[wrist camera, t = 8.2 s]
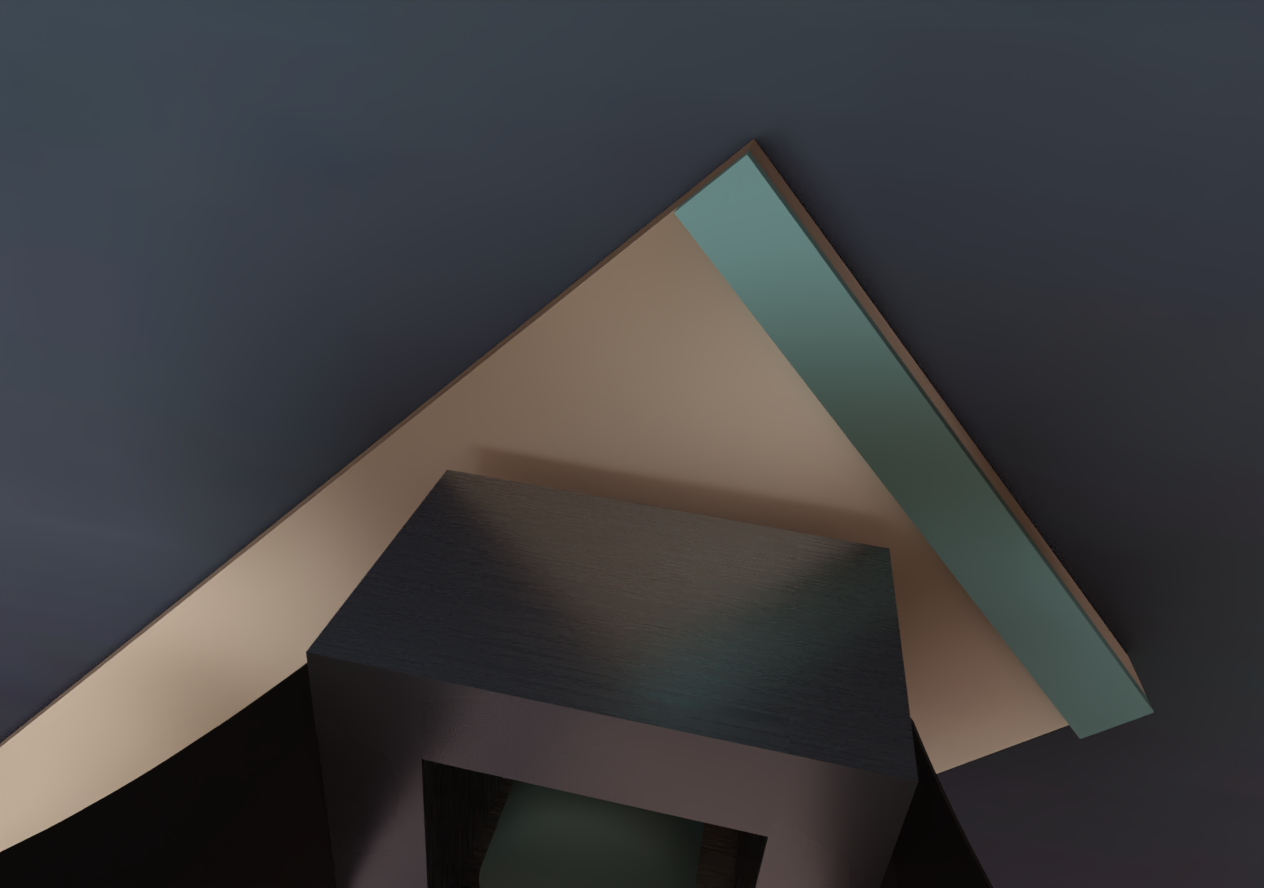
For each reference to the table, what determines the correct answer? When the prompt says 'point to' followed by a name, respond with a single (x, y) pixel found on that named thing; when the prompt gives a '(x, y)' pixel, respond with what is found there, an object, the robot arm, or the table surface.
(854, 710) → the collar
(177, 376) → the table surface
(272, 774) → the robot arm
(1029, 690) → the board
